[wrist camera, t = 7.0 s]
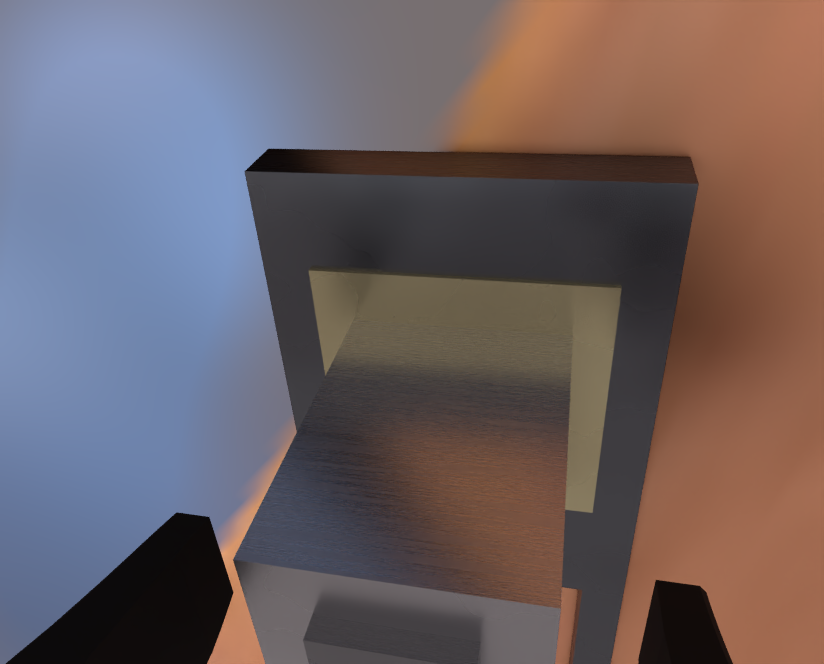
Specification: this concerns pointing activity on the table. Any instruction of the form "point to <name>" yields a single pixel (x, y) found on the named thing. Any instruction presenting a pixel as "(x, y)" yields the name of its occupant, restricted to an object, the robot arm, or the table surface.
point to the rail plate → (498, 298)
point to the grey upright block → (419, 504)
